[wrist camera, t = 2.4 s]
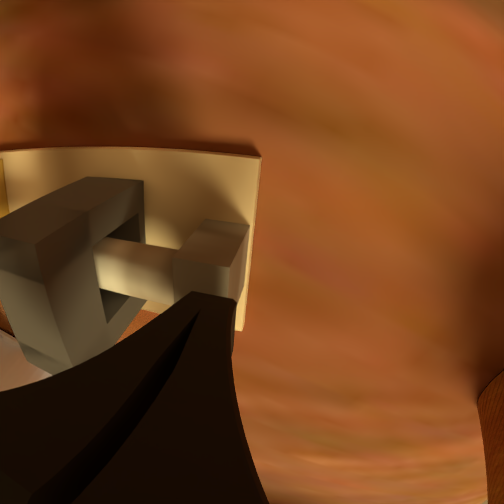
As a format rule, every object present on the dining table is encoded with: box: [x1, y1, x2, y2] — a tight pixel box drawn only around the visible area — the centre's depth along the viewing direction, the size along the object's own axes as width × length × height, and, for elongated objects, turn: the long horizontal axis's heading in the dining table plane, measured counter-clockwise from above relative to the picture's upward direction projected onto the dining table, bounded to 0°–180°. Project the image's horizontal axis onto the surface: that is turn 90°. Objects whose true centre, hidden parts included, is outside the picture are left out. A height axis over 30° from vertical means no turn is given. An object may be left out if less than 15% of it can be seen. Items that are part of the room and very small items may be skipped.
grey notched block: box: [0, 176, 147, 375], centre depth 10 cm, size 3×6×6 cm, turn 175°
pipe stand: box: [0, 147, 262, 331], centre depth 12 cm, size 20×8×4 cm, turn 85°
